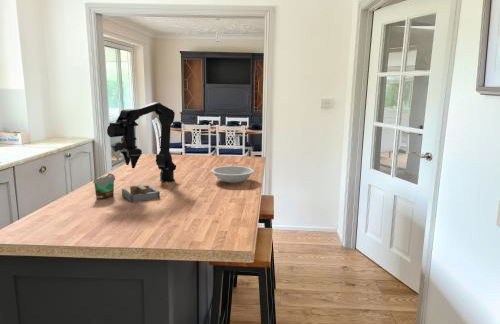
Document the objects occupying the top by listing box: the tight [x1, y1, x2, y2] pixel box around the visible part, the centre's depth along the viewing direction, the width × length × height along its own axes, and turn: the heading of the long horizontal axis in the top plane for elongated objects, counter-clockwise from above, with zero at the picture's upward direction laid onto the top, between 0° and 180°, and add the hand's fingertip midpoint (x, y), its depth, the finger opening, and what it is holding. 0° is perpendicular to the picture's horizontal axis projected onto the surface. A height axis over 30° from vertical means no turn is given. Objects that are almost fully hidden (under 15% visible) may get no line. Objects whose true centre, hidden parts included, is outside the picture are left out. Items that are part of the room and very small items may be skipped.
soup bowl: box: [211, 165, 255, 184], centre depth 205 cm, size 24×24×7 cm
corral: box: [121, 185, 161, 203], centre depth 173 cm, size 13×14×3 cm
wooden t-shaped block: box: [129, 183, 150, 195], centre depth 172 cm, size 8×8×5 cm
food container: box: [93, 172, 116, 200], centre depth 171 cm, size 12×6×10 cm, turn 168°
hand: (130, 166), depth 183 cm, fingers open, 9 cm apart
